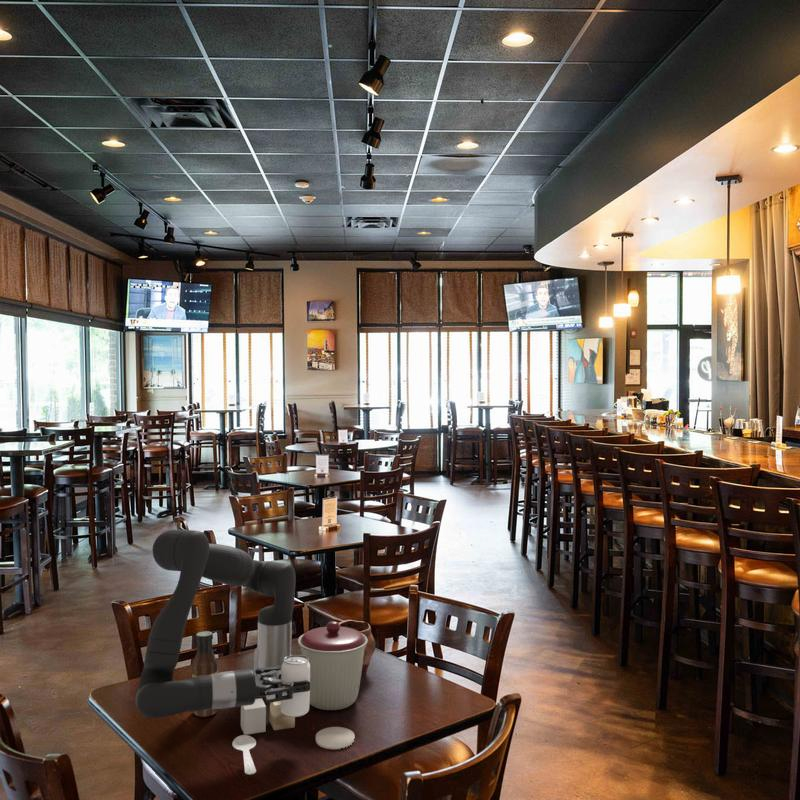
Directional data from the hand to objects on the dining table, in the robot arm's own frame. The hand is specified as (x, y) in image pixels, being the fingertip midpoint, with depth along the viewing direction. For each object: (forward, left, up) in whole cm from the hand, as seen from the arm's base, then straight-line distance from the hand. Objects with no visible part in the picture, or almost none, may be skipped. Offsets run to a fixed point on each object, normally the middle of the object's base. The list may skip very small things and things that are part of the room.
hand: (305, 679), depth 168 cm
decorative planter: (-5, +43, -15) cm, 46 cm away
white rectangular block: (-15, +3, -15) cm, 21 cm away
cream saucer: (+6, +5, -15) cm, 17 cm away
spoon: (-10, -8, -16) cm, 20 cm away
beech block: (-9, +8, -15) cm, 19 cm away
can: (-2, -1, -7) cm, 8 cm away
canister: (-3, +23, -15) cm, 28 cm away
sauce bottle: (-30, +6, -15) cm, 35 cm away
